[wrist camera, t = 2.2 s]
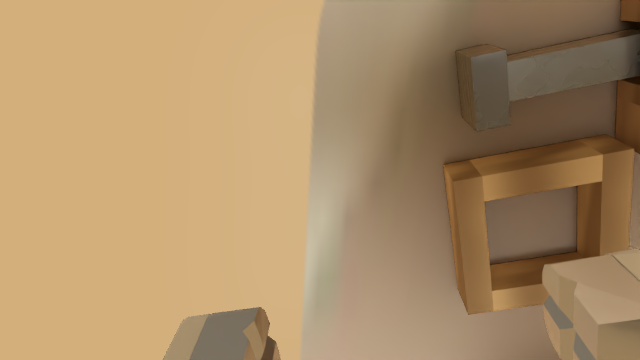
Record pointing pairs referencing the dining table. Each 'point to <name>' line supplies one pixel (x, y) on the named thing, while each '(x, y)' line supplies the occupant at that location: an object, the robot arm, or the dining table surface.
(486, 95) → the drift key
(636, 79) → the socket block
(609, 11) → the dining table surface
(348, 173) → the dining table surface
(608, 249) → the square wooden frame
